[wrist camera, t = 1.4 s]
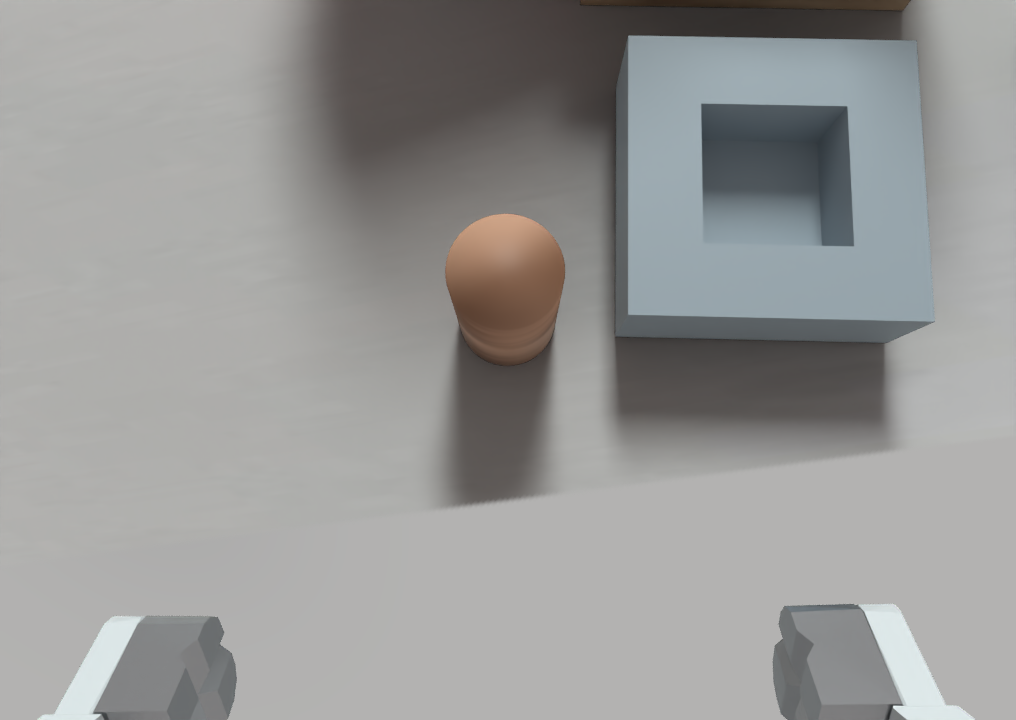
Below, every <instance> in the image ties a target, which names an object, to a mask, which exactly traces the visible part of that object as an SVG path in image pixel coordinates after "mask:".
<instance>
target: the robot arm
mask: <svg viewBox="0 0 1016 720" xmlns="http://www.w3.org/2000/svg"><path fill="white" fill-rule="evenodd" d="M779 627H780V631H781V634H782V637H783V639H782V640H781V641H780V642H778V643H777V644H776V645H775V648H774V656H773V679H774V686H775V692H776V697H777V701H778V705H779V708H780V712H781V714H782V715H783V716H784V717H785V718H786V719H787V720H976V719H974V718H973V717H972V716H971V715H969V714H968V713H967V712H965V711H964V710H963V709H962V708H960V707H959V706H952V705H946V703H945V701H944V699H943V697H942V695H941V693H940V691H939V688H938V686H937V685H936V682H935V680H934V678H933V676H932V674H931V672H930V670H929V668H928V666H927V664H926V662H925V660H924V658H923V655H922V653H921V651H920V649H919V647H918V645H917V643H916V641H915V639H914V637H913V635H912V633H911V631H910V629H909V627H908V625H907V623H906V621H905V618H904V616H903V614H902V612H901V610H900V609H899V608H898V607H897V606H895V604H862V605H854V604H839V605H804V606H784V608H783V610H782V611H781V614H780V620H779ZM223 635H224V631H223V628H222V626H221V623H220V621H219V619H218V617H210V616H205V617H204V616H113V617H112V618H111V619H110V620H108V621H107V622H106V623H105V624H104V625H103V627H102V628H101V630H100V632H99V634H98V635H97V637H96V639H95V641H94V643H93V644H92V646H91V648H90V650H89V652H88V653H87V655H86V657H85V659H84V661H83V663H82V664H81V666H80V668H79V670H78V671H77V673H76V675H75V677H74V678H73V680H72V682H71V684H70V686H69V688H68V689H67V691H66V693H65V695H64V696H63V698H62V700H61V702H60V704H59V705H58V707H57V709H56V711H55V713H54V714H45V715H43V716H41V717H40V718H38V719H37V720H227V719H228V717H229V714H230V711H231V708H232V705H233V702H234V697H235V689H236V681H237V677H236V667H235V663H234V659H233V656H232V653H231V652H230V651H228V650H227V649H225V648H224V647H223V646H221V645H220V642H221V640H222V637H223Z"/></svg>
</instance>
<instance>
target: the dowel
mask: <svg viewBox="0 0 1016 720" xmlns="http://www.w3.org/2000/svg"><path fill="white" fill-rule="evenodd" d="M445 273H446V283H447V287H448V290H449V293H450V296H451V300H452V303H453V306H454V309H455V312H456V315H457V318H458V322H459V325H460V328H461V331H462V334H463V337H464V339H465V341H466V343H467V344H468V346H469V347H470V348H471V350H472V351H473V352H474V353H475V354H477V355H478V356H479V357H481V358H482V359H484V360H486V361H488V362H490V363H493V364H497V365H504V366H512V365H518V364H522V363H525V362H527V361H529V360H531V359H533V358H534V357H536V356H537V355H538V354H540V353H541V352H542V351H543V350H544V349H545V347H546V346H547V344H548V343H549V341H550V339H551V337H552V334H553V331H554V327H555V322H556V317H557V313H558V308H559V303H560V298H561V294H562V289H563V284H564V279H565V264H564V259H563V255H562V252H561V249H560V247H559V245H558V243H557V242H556V240H555V239H554V237H553V236H552V235H551V234H550V233H549V232H548V231H547V230H546V229H545V228H544V227H543V226H541V225H540V224H538V223H537V222H535V221H533V220H531V219H529V218H526V217H523V216H519V215H515V214H497V215H491V216H488V217H484V218H482V219H480V220H478V221H476V222H474V223H472V224H471V225H469V226H468V227H467V228H466V229H464V230H463V231H462V232H461V233H460V235H459V236H458V237H457V238H456V240H455V241H454V243H453V245H452V246H451V248H450V251H449V254H448V257H447V261H446V269H445Z"/></svg>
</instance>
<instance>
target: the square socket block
mask: <svg viewBox="0 0 1016 720" xmlns="http://www.w3.org/2000/svg"><path fill="white" fill-rule="evenodd" d="M933 322H935V317H934V302H933V286H932V271H931V255H930V240H929V224H928V209H927V193H926V178H925V163H924V147H923V132H922V116H921V101H920V85H919V70H918V54H917V41H913V40H856V39H800V38H743V37H687V36H630V35H628V39H627V43H626V47H625V51H624V56H623V60H622V64H621V68H620V72H619V77H618V81H617V85H616V290H615V337H657V338H700V339H744V340H787V341H831V342H874V343H887V342H890V341H892V340H894V339H896V338H899V337H901V336H903V335H906V334H908V333H910V332H912V331H915V330H917V329H919V328H922V327H924V326H926V325H928V324H931V323H933Z"/></svg>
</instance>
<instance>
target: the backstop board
mask: <svg viewBox="0 0 1016 720" xmlns="http://www.w3.org/2000/svg"><path fill="white" fill-rule="evenodd" d="M910 1H911V0H580V5H615V6H674V7H732V8H790V9H848V10H904V9H905V7H906V6H907V5H908V3H909V2H910Z"/></svg>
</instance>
